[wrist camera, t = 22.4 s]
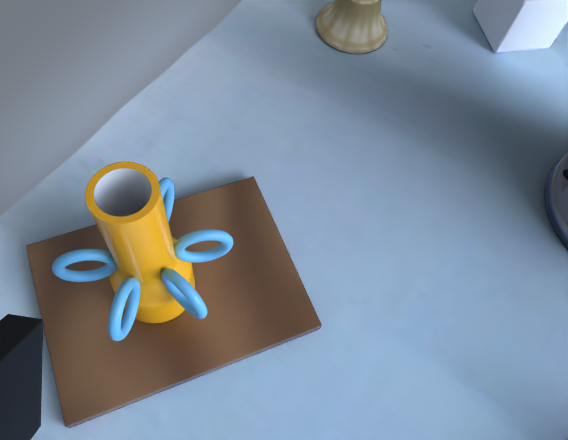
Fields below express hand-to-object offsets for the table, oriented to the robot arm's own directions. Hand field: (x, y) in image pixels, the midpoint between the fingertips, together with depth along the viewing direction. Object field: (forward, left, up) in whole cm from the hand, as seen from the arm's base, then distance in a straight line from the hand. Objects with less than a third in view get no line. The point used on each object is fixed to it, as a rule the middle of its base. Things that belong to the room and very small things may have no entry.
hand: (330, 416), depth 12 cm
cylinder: (+3, -16, -29) cm, 33 cm away
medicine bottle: (-44, -33, -30) cm, 62 cm away
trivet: (+2, -16, -29) cm, 33 cm away
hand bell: (-26, -39, -30) cm, 55 cm away
